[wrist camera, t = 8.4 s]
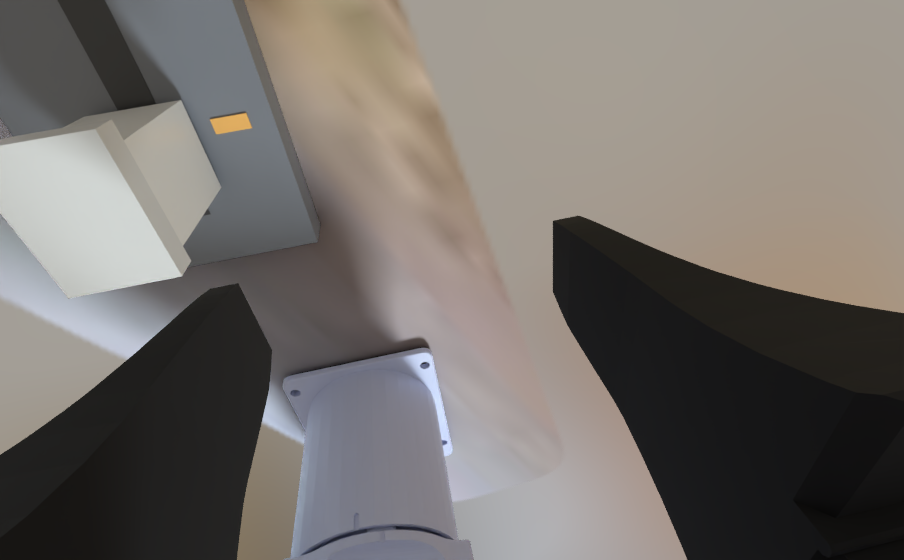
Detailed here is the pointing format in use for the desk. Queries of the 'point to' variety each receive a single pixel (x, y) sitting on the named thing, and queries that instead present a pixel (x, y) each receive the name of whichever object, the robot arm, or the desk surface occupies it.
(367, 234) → the desk surface
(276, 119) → the console
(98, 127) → the fader tab
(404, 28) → the desk surface
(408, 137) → the desk surface
